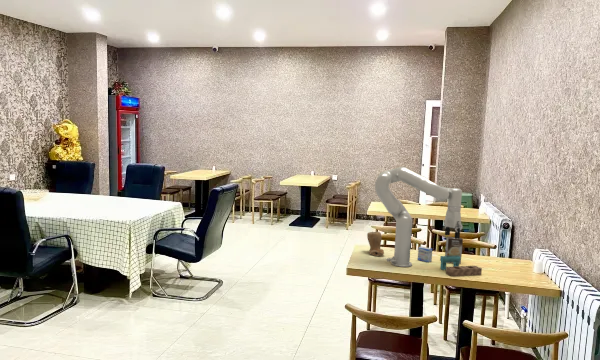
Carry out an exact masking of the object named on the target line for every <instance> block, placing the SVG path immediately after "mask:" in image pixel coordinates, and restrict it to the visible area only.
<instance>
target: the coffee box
mask: <svg viewBox="0 0 600 360" xmlns="http://www.w3.org/2000/svg"><path fill="white" fill-rule="evenodd" d="M445 239H446V240H445V241H446V242H445V252H444V256H454V255H458V256H460V261H459V265H461V263H462V253H463V242H464V239H463V238H461V237H460V238H459V239H455V236H446V238H445ZM446 264H453V262H447V263H446Z"/></svg>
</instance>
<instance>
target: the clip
mask: <svg viewBox="0 0 600 360" xmlns="http://www.w3.org/2000/svg"><path fill="white" fill-rule="evenodd" d="M439 261H440V267H439V270H442V271H446V267H447V264H448V263H447V262H453V263H452V265H453V266H452V267H456V266H460V264H459V261H460V256H458V255H454V256H445V255H440V258H439Z"/></svg>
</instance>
